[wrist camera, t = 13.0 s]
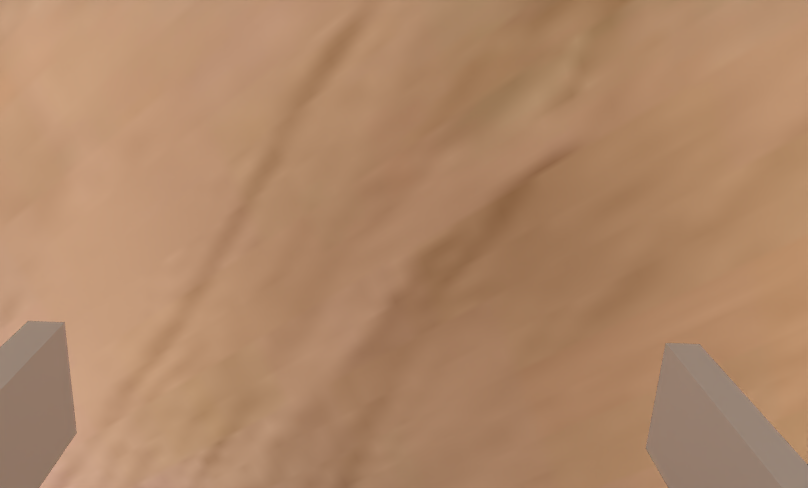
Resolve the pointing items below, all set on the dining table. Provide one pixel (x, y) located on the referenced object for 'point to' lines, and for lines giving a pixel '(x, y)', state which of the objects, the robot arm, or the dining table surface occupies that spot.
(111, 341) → the dining table surface
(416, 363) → the dining table surface
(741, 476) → the robot arm
